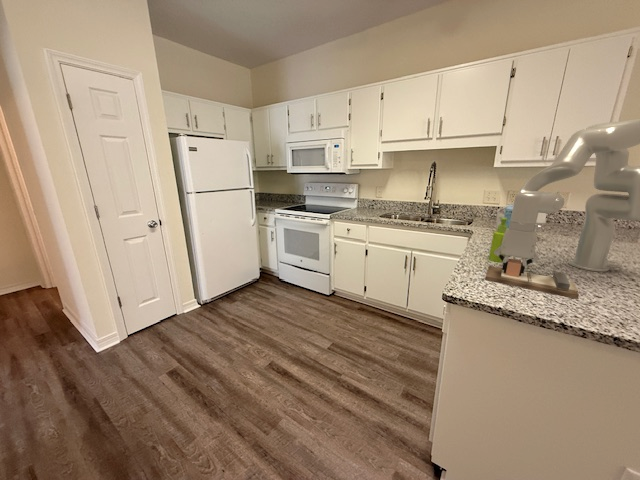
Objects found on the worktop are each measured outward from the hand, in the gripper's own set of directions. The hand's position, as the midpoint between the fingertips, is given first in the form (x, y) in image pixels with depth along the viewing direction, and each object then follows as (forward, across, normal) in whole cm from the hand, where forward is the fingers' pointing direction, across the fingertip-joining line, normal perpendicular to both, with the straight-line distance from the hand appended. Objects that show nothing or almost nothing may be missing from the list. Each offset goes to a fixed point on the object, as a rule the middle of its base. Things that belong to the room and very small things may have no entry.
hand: (512, 272), depth 101 cm
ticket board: (+2, -5, 0) cm, 6 cm away
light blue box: (+3, +3, -44) cm, 44 cm away
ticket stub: (+1, -1, 0) cm, 1 cm away
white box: (+3, -1, -80) cm, 80 cm away
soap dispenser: (+3, +6, -23) cm, 24 cm away
